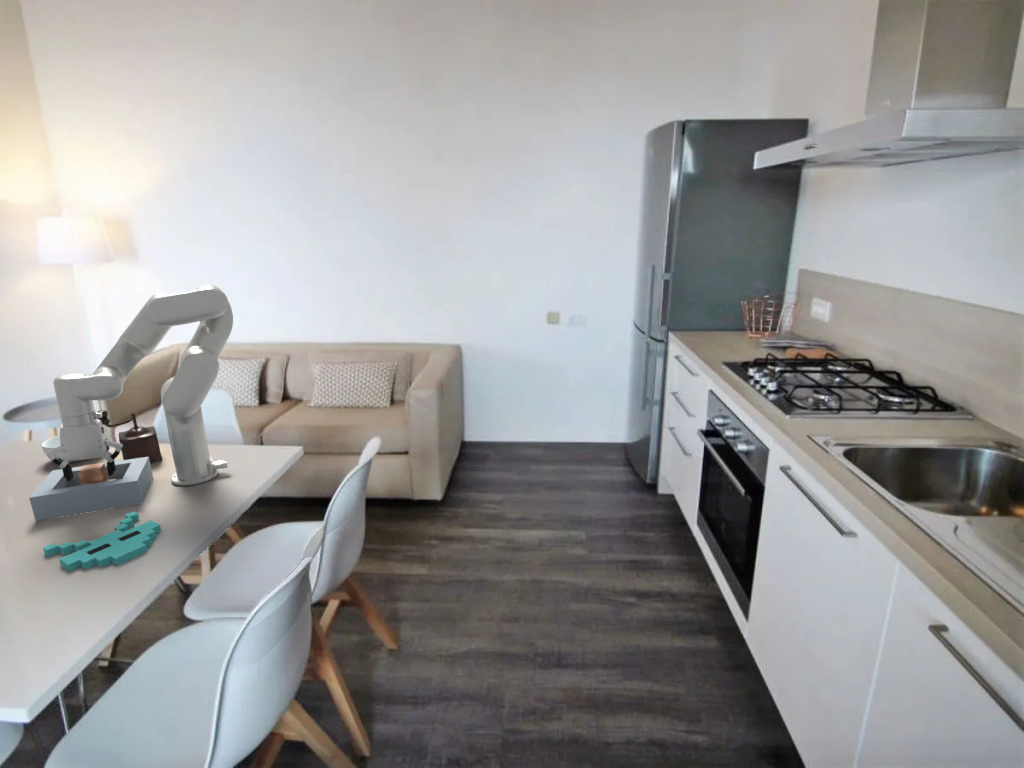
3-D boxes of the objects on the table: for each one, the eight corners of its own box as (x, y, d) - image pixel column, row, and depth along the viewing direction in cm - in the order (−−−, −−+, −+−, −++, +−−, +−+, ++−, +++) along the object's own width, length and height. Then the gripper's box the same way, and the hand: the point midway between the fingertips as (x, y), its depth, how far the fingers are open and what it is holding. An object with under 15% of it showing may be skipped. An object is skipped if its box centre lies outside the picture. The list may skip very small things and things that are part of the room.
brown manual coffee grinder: (159, 450, 194) (149, 400, 189) (163, 461, 185) (152, 409, 180) (105, 461, 185) (92, 409, 180) (105, 473, 177) (93, 419, 172)
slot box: (153, 477, 173) (148, 456, 171) (141, 503, 157) (136, 480, 155) (57, 492, 164) (52, 470, 162) (35, 521, 148) (29, 497, 146)
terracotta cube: (108, 481, 163) (104, 462, 161) (104, 488, 159) (99, 469, 157) (88, 484, 161) (83, 465, 159) (83, 492, 157) (78, 472, 155)
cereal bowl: (108, 443, 201) (104, 425, 199) (110, 458, 188) (105, 439, 186) (47, 455, 191) (42, 436, 189) (45, 472, 178) (39, 451, 176)
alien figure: (45, 555, 134) (83, 582, 124) (42, 547, 133) (81, 573, 123) (135, 518, 150) (176, 539, 140) (133, 511, 150) (174, 532, 139)
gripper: (119, 411, 161) (130, 466, 165) (44, 418, 154) (57, 476, 159) (113, 419, 154) (124, 476, 159) (34, 427, 147) (48, 487, 152)
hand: (91, 476), depth 159 cm, fingers open, 9 cm apart
